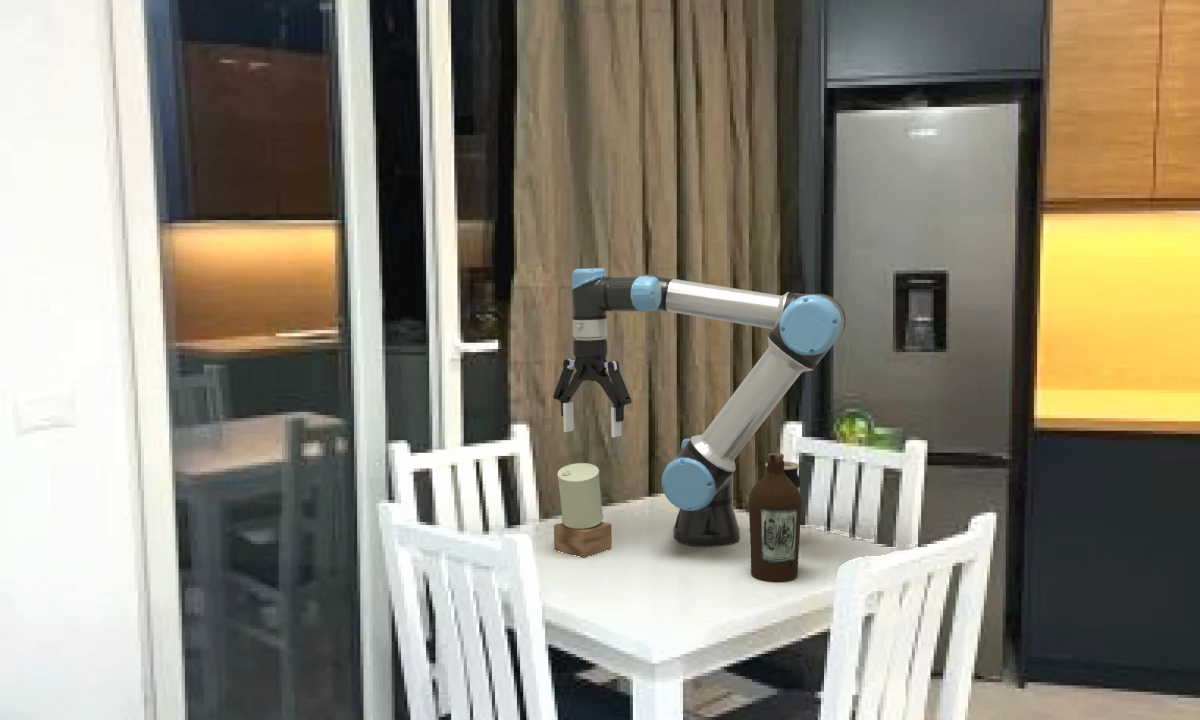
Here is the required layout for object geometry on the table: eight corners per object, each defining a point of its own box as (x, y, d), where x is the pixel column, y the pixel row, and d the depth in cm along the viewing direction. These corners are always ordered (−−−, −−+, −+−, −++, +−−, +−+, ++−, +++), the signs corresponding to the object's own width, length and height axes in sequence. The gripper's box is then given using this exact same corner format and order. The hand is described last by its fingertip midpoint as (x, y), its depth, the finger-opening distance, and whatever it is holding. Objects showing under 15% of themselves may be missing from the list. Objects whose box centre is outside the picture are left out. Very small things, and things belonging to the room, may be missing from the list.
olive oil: (743, 567, 223) (744, 449, 221) (794, 567, 224) (796, 449, 221) (753, 583, 213) (754, 459, 210) (806, 582, 213) (808, 459, 211)
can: (557, 513, 240) (552, 465, 236) (597, 506, 242) (593, 457, 238) (567, 532, 231) (562, 482, 227) (608, 524, 233) (603, 474, 229)
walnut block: (611, 550, 238) (611, 523, 237) (584, 559, 231) (584, 532, 230) (581, 543, 243) (581, 517, 243) (554, 551, 237) (553, 525, 236)
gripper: (536, 338, 241) (539, 431, 243) (625, 341, 226) (627, 441, 228) (557, 335, 247) (560, 426, 249) (645, 338, 232) (647, 435, 234)
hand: (592, 433), depth 238 cm, fingers open, 13 cm apart
